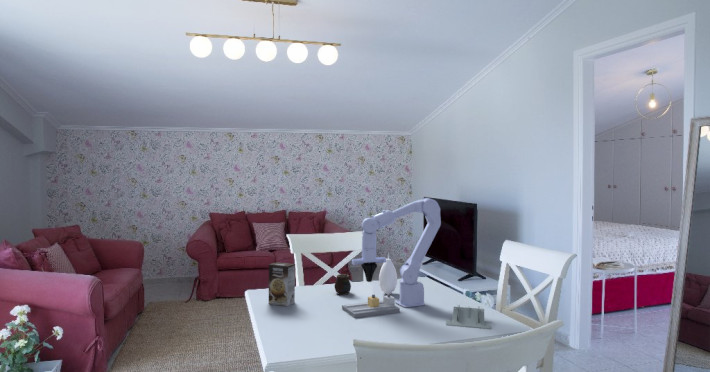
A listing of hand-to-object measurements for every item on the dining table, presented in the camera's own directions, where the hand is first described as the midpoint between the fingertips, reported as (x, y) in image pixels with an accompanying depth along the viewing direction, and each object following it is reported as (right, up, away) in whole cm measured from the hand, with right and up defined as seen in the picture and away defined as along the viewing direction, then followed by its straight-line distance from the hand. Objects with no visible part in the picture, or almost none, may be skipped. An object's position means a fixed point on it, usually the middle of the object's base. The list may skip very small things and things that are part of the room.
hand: (368, 281), depth 194 cm
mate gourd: (-11, -9, +17) cm, 22 cm away
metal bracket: (+35, -11, -21) cm, 42 cm away
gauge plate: (0, -10, -8) cm, 13 cm away
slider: (+1, -8, -8) cm, 11 cm away
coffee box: (-35, -9, +1) cm, 37 cm away
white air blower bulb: (+9, -9, +17) cm, 21 cm away
